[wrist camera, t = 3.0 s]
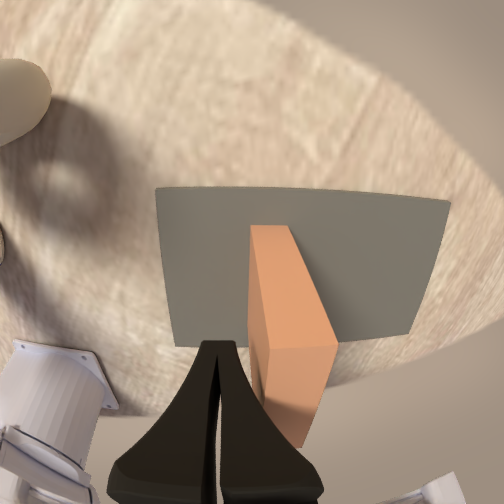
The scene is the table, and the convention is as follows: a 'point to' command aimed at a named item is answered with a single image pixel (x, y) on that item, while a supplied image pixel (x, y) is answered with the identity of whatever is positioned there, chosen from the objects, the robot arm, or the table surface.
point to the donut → (21, 98)
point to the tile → (286, 333)
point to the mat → (311, 249)
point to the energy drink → (1, 247)
